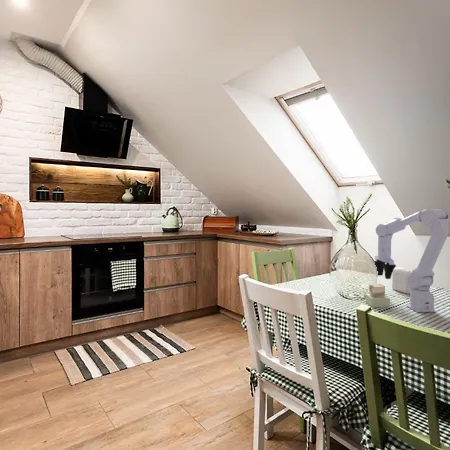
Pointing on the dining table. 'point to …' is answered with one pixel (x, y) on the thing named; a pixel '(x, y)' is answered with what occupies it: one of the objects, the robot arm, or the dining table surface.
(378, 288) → the cream cube
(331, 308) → the dining table surface
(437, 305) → the dining table surface
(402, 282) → the photo printer
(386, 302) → the sage base block
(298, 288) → the dining table surface
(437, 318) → the dining table surface
